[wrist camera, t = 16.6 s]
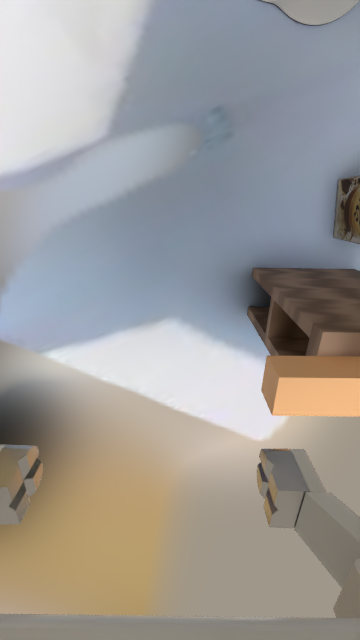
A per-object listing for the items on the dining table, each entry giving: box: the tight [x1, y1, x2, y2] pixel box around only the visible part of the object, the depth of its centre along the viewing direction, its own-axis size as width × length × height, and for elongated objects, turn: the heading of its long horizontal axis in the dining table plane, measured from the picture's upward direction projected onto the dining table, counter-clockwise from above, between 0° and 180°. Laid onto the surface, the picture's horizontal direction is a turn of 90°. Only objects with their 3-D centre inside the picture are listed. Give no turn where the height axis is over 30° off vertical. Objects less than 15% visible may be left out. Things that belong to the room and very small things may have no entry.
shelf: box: [247, 268, 360, 357], centre depth 39 cm, size 18×9×26 cm, turn 89°
